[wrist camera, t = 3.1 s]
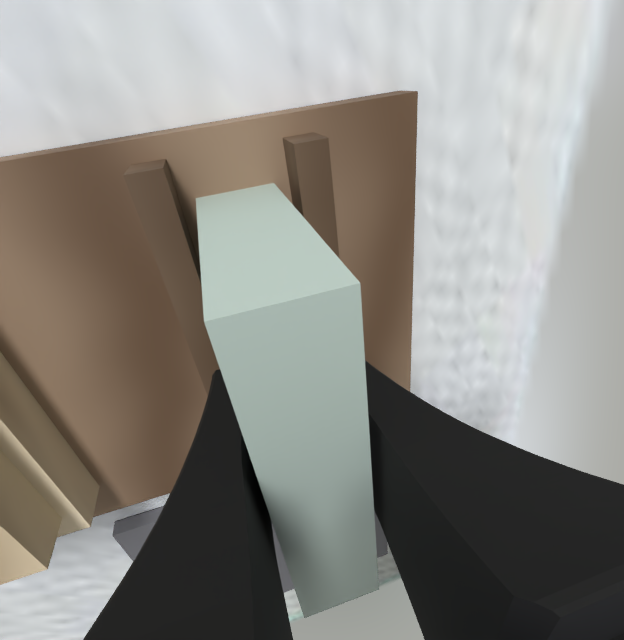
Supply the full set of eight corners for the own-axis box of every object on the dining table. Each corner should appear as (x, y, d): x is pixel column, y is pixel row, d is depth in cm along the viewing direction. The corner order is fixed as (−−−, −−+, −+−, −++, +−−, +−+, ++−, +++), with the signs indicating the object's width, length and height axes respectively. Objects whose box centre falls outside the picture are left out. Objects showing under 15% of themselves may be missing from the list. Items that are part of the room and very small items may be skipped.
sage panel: (264, 436, 14) (304, 618, 10) (195, 198, 9) (204, 321, 5) (315, 420, 15) (378, 589, 10) (273, 182, 10) (360, 283, 5)
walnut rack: (-47, 537, 14) (-81, 603, 12) (-433, 229, 8) (-626, 275, 6) (398, 401, 17) (423, 439, 15) (399, 90, 10) (443, 91, 9)
